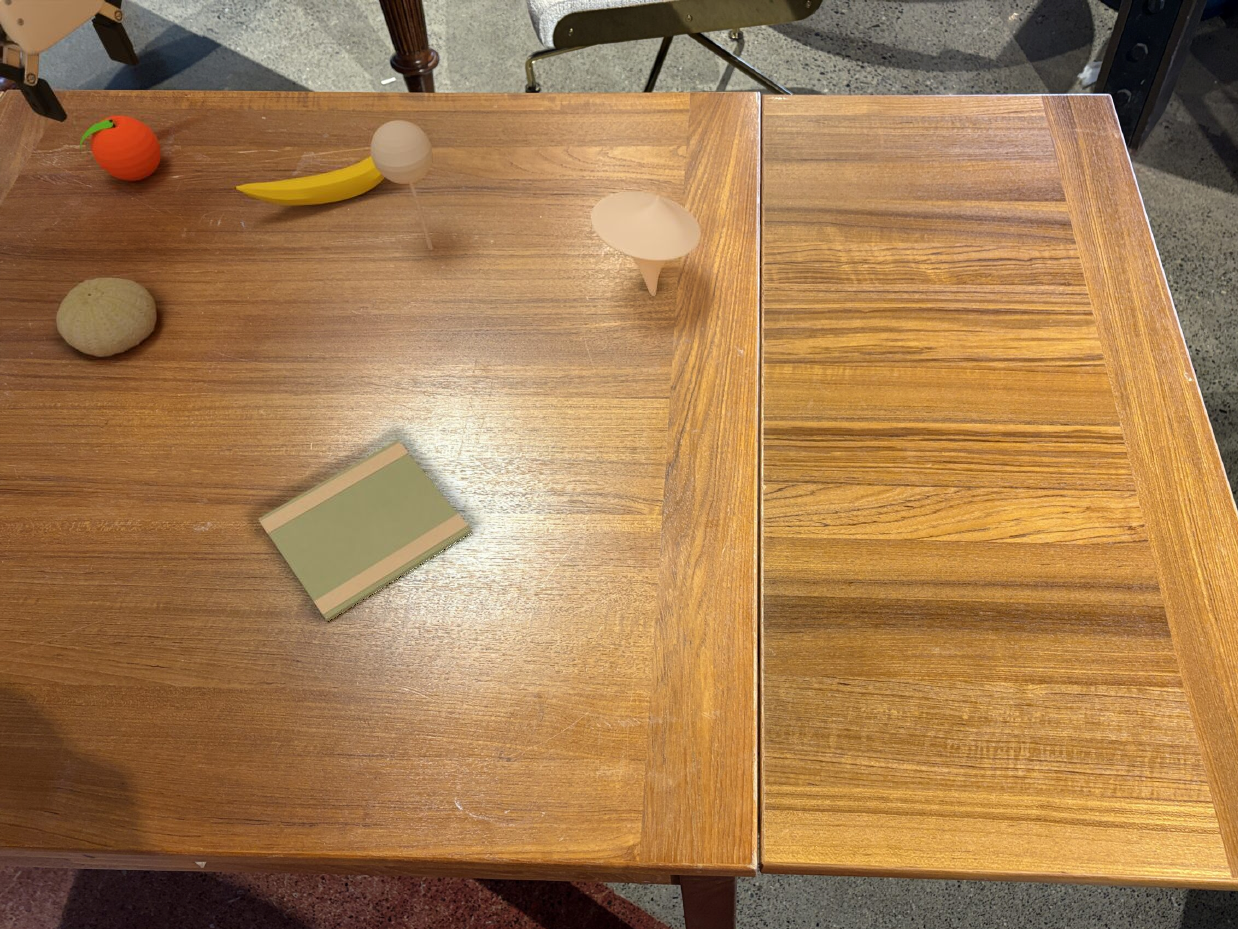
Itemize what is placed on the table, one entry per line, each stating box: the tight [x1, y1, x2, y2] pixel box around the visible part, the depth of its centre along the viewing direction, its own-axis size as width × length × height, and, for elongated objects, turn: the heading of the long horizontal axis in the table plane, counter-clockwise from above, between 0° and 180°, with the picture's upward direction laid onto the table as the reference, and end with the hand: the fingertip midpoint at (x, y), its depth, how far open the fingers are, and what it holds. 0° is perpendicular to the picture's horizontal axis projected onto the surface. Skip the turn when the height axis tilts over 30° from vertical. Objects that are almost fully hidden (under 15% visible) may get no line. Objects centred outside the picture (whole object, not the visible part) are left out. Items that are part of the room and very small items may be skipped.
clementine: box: [79, 114, 162, 182], centre depth 114 cm, size 8×7×7 cm
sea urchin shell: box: [55, 277, 158, 358], centre depth 101 cm, size 9×8×8 cm
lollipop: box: [370, 119, 434, 251], centre depth 103 cm, size 6×6×15 cm
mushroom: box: [590, 190, 702, 297], centre depth 100 cm, size 10×11×12 cm
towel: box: [257, 439, 473, 622], centre depth 89 cm, size 14×13×1 cm
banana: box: [234, 155, 385, 206], centre depth 111 cm, size 3×19×6 cm, turn 115°
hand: (90, 89), depth 96 cm, fingers open, 9 cm apart
